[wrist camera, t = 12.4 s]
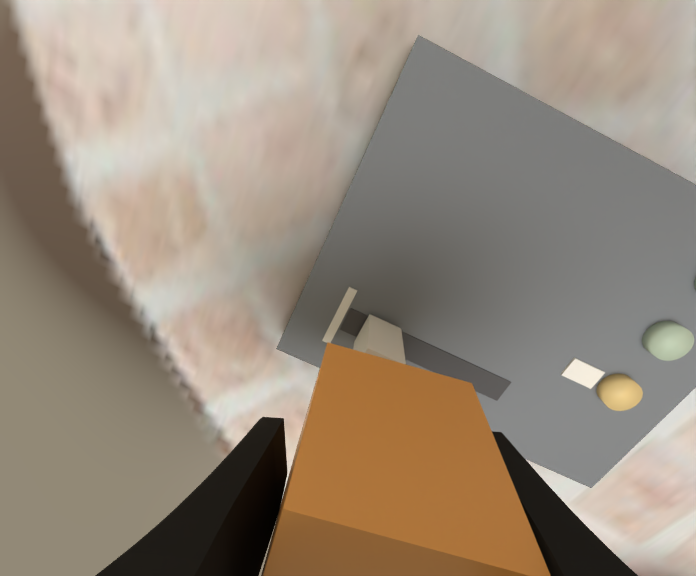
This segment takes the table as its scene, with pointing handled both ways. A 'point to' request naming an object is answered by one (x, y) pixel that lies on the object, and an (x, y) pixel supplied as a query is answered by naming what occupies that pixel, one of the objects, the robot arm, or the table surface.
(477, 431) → the cap
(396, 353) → the switch
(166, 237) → the table surface
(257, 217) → the table surface
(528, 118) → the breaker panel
